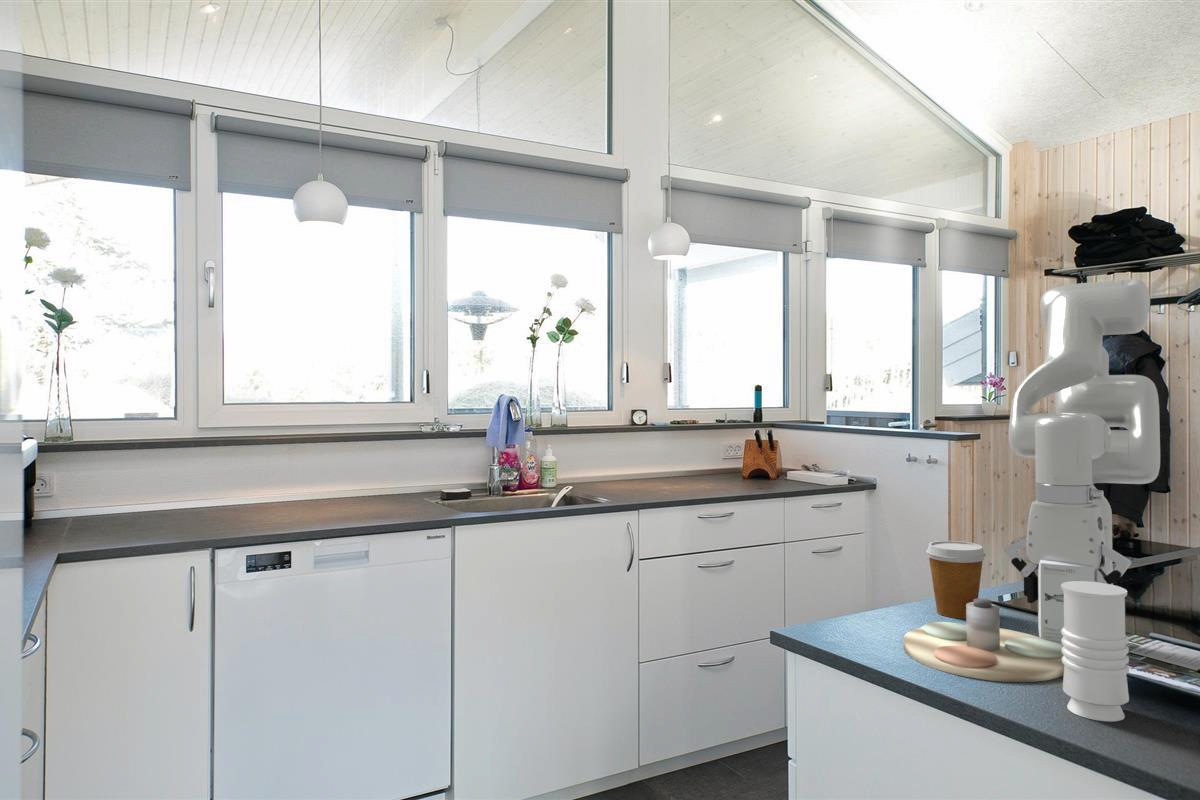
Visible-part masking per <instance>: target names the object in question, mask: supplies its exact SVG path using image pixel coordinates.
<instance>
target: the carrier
mask: <svg viewBox="0 0 1200 800" xmlns="http://www.w3.org/2000/svg"><path fill="white" fill-rule="evenodd" d="M965 619H966V621H965V622H966V623H965V624H963V623H958V622H951V621H950V622H949V621H933V622H932V621H931V622H927V623H924V624H923V625H922V626H920V627H916V628H914V629H912V630H911V629H910V630H909V631H908V632H906V633H905V634H904V636H903V649H904V651H905V654H907V655H908V656H909V657H910V658H912V660H915V661H916V662H918V663H920V664H922V665H924V666H927V667H929V668H932V669H935V670H938V671H940V672H944V673H949V674H952V675H956V676H960V677H964V678H965V677H966V678H969V679H970V678H972V679H977V680H983V681H992V682H993V681H994V682H1003V683H1004V682H1006V683H1032V682H1033V683H1034V682H1044V681H1051V680H1055V679H1057V678H1058V679H1059V678H1061V677H1064V664H1063V663H1062V657H1063V654H1062V647H1063V646H1064V645H1060V644H1058V643H1055V642H1051V641H1047V640H1045V639H1042V638H1040V637H1039V636H1036V635H1032V634H1029V633H1025V632H1021V631H1017V630H1012V629H1007V628H1002V627H1000V606H999V605H996V604H994V603H993V602H992V600H991V599H988V598H987V599H986V598H979V597H978V599H974V600H973V602H970V603H967V604H966V618H965Z"/></svg>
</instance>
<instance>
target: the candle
mask: <svg viewBox="0 0 1200 800" xmlns="http://www.w3.org/2000/svg"><path fill="white" fill-rule="evenodd" d="M1061 588H1062V590H1063V591H1064V627H1063V628H1062V630H1061V633H1062V635H1063V638H1062V639H1061V643H1062V645H1063V647H1062V654H1063V657H1062V663H1063V664H1064V675H1063V678H1062V679H1063V680H1062V691H1063V692H1064V693H1065V694H1066V695H1067V696H1069V697H1070V699H1069V701H1068V703H1067V705H1066V707H1067V710H1069V712H1072V713H1073V714H1075V715H1077V716H1079V717H1082V718H1086V719H1088V720H1089V719H1090V720H1094V721H1099V722H1119V721H1122V720H1124V719H1125V717H1126V715H1125V712H1123V709H1122V707H1121V706H1122V705H1126V703H1129V701H1130V695H1129V687H1128V686H1129V685H1128V677H1127V675H1128V674H1129V672H1130V667H1129V665H1128V664H1129V662H1130V657H1129V656H1128V654H1129V652H1130V648H1129V646H1128V645H1127V644H1129V639H1130V638H1129V637H1128V635H1127V634H1126V599H1125V598H1126V597H1127V595H1128V590H1127V589H1126V588H1123V587H1121V586H1119V585H1114V584H1113V585H1111V584H1106V583H1099V582H1089V581H1070V582H1064V583H1062V584H1061Z"/></svg>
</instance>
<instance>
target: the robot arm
mask: <svg viewBox="0 0 1200 800" xmlns="http://www.w3.org/2000/svg"><path fill="white" fill-rule="evenodd" d="M1150 306H1151V297H1150V291H1149V288H1148V286H1147V284H1146V283H1145V282H1144V281H1143V280H1141V279H1140V278H1139V279H1137V278H1129V279H1127V278H1126V279H1117V280H1116V279H1115V280H1107V281H1106V280H1105V281H1104V280H1103V281H1095V282H1093V281H1092V282H1083V283H1072V284H1063V285H1060V286H1055V287H1052V288H1050V289H1048V290H1046V291H1045V292H1044V293H1043V294H1042V296H1041V298H1040V302H1039V308H1040V309H1039V310H1040V317H1041V322H1042V324H1043V325H1042V326H1043V328H1044V331H1045V333H1046V335H1045V336H1046V337H1045V348H1044V349H1045V350H1044V361H1043V363H1041V364H1040V365H1038V366H1037V367H1036V368H1035V369H1033V370H1032V371H1031V372H1030V373H1029V374H1028V375H1027V376H1026V377H1025V378H1024V379H1023V381H1021V382H1020V384H1019V385H1018V387H1017V388H1016V390H1015V392H1014V394H1013V397H1012V399H1011V405H1010V413H1009V422H1008V424H1009V425H1008V443H1009V446H1010V448H1011V450H1012V452H1013V453H1014V454H1015V455H1016V456H1018V457H1022V458H1027V459H1034V460H1035V461H1034V462H1035V463H1034V464H1035V501H1032V502H1031V505H1030V508H1029V514H1028V520H1027V528H1026V537H1025V538H1023V539H1020V540H1018V541H1016V542H1013V543H1012V544H1011V543H1010V544H1008V545H1007V546H1004V551H1005V554H1006V555H1007V557H1008V558H1009V560H1010V562H1011V564H1012V565H1013V566H1014V568H1016V570H1017V571H1018V572H1019V573H1020V575H1021V576H1022V577H1023V594H1024V596H1025V597H1027V598H1026V599H1027V603H1028V604H1033V603H1035V602H1036V601H1038V574H1036V571H1038V566H1039V561H1040V560H1048V561H1057V562H1064V563H1071V564H1078V565H1085V566H1091V567H1095V582H1099V583H1106V584H1111V585H1114V582H1116V581H1118V580H1119V579H1120V578H1121V577H1123V575H1124V574H1125V572H1126V571H1127V569H1129V567H1130V566H1131V564H1132V561H1131V559H1129V558H1128V557H1126V556H1124V555H1122V554H1121V553H1119V552H1118V551H1116V550H1115V549H1113V515H1112V514H1113V512H1112V508H1111V505H1110V503H1109V501H1108V499H1107V498H1106V497H1105V495H1104V490H1103V489H1102V490H1100V489H1097V488H1096V486H1095V485H1094V484H1126V485H1127V484H1129V485H1132V484H1133V485H1145V484H1150V483H1153V482H1154V481H1155V480H1156V479H1157V478H1158V476H1159V473H1160V468H1161V439H1160V438H1161V434H1160V433H1161V432H1160V431H1161V430H1160V428H1161V426H1160V402H1159V394H1158V389H1157V387H1156V384H1155V382H1153V380H1151V379H1150V378H1149V377H1147V376H1145V375H1139V374H1111V375H1110V374H1109V373H1110V372H1109V370H1110V366H1109V365H1110V355H1109V352H1108V351H1107V350H1106V348H1105V347H1104V346H1103V336H1110V335H1111V336H1113V335H1129V334H1130V335H1131V334H1137V333H1138V334H1139V333H1140V332H1141V331H1143V330H1144V328H1145V326H1146V324H1147V323H1148V318H1149V314H1150V313H1149V312H1150V308H1151V307H1150ZM1053 394H1055V395H1054V396H1055V397H1054V400H1055V401H1054V403H1055V412H1032V413H1031V411H1032V409H1033V408H1034V407H1035V406H1036V405H1037V404H1038V403H1039V402H1040V401H1042V400H1043V399H1045V398H1047V397H1049V396H1050V395H1053ZM1114 427H1115V428H1118V427H1119V428H1125V429H1111V428H1114ZM1024 548H1025V555H1026V560H1027V561H1028V562H1027V563H1026V561H1025V560H1024V559H1023V558H1022V557H1021V556H1020V554H1019V553H1018V552H1019V550H1022V549H1024ZM1113 563H1115V567H1113ZM1113 568H1114V569H1113Z"/></svg>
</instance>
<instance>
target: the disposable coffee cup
mask: <svg viewBox="0 0 1200 800" xmlns="http://www.w3.org/2000/svg"><path fill="white" fill-rule="evenodd" d="M925 552H926V554H927V557H928V559H929V566H930V574H931V578H932V579H931V580H932V581H931V582H932V587H933V592H934V593H933V594H934V599H935V607H936V612H937V614H938V615H941V616H944V617H948V618H954V619H966V604H967V603H970V602H973V600H974V599H978V598H979V595H980V586H981V578H982V569H983V561H984V560H985V558H986V556H987V555H986V553H985V551H984V547H983V546H982V545H980V544H977V543H974V542H969V541H960V540H937V541H931V542H929V543H928V546H927V549H926V550H925Z"/></svg>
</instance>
